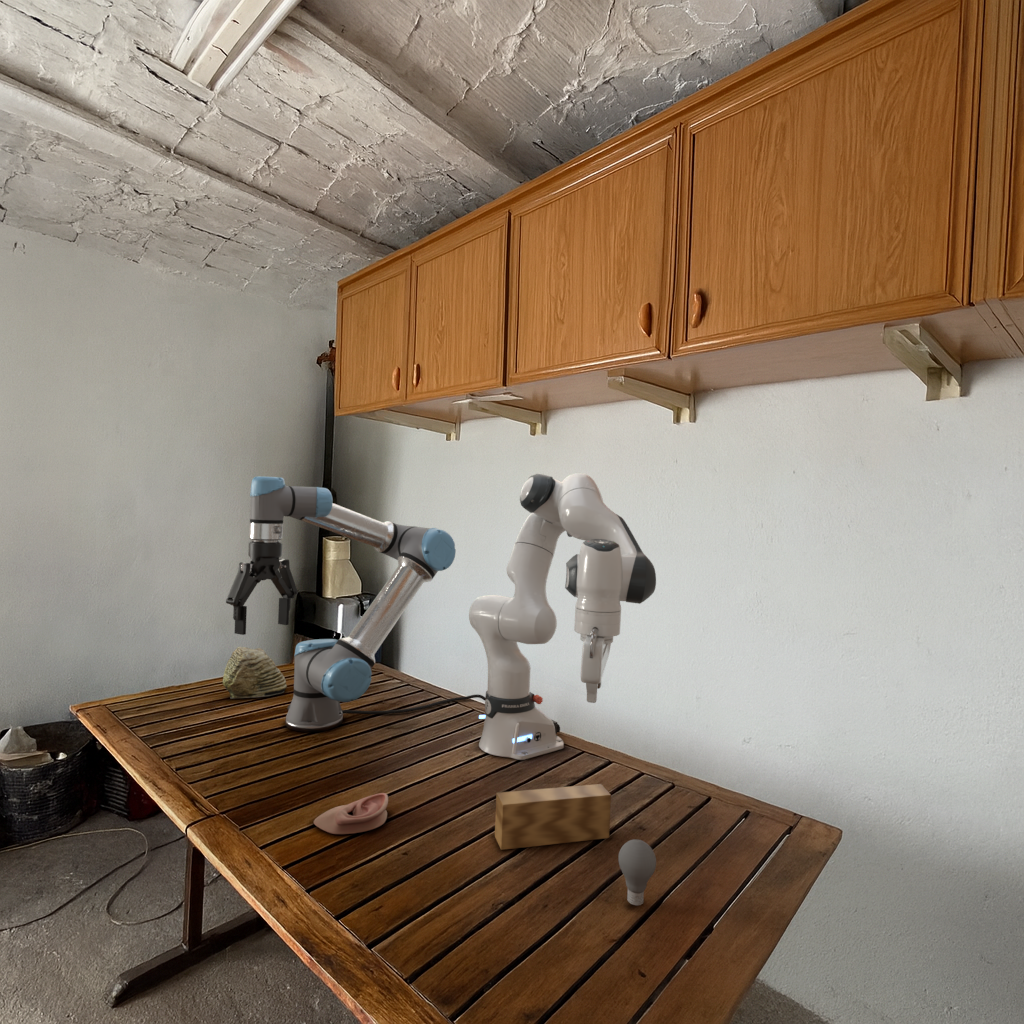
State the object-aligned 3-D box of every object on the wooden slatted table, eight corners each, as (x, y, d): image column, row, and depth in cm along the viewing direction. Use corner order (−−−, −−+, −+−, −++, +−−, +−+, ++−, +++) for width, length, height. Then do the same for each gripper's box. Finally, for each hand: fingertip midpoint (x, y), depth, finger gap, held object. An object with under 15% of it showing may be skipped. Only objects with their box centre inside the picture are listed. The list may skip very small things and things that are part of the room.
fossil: (218, 695, 195) (220, 647, 195) (278, 685, 208) (279, 640, 207) (228, 703, 189) (230, 653, 188) (289, 692, 201) (290, 645, 201)
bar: (501, 850, 116) (502, 804, 116) (494, 836, 121) (496, 792, 121) (609, 838, 122) (611, 794, 122) (599, 825, 127) (601, 783, 127)
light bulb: (612, 891, 105) (615, 832, 105) (647, 891, 106) (650, 832, 105) (621, 915, 99) (624, 852, 99) (659, 914, 100) (662, 852, 99)
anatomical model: (306, 809, 120) (334, 783, 131) (305, 829, 120) (334, 802, 131) (371, 819, 117) (395, 791, 129) (370, 840, 117) (394, 811, 129)
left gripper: (235, 544, 139) (232, 640, 139) (313, 539, 162) (310, 622, 162) (210, 542, 142) (207, 636, 142) (291, 537, 165) (288, 619, 165)
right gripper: (610, 635, 112) (606, 713, 112) (617, 616, 132) (613, 682, 132) (574, 632, 113) (570, 709, 114) (586, 613, 133) (583, 678, 134)
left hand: (262, 629), depth 152 cm, fingers open, 13 cm apart
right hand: (594, 694), depth 123 cm, fingers open, 8 cm apart
